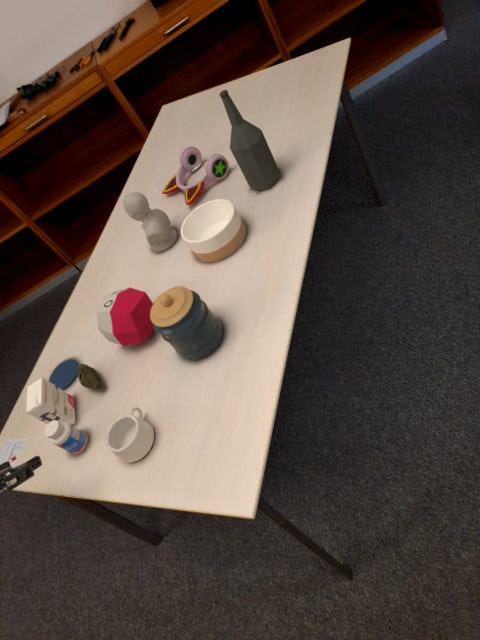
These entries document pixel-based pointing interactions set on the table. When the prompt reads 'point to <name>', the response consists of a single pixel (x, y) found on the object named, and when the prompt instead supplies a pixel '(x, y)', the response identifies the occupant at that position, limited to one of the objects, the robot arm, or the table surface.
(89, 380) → the decorative stone
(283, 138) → the table surface
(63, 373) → the coaster
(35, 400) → the ink box
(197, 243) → the bowl
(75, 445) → the pill bottle
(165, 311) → the canister
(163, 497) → the table surface
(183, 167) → the headphones
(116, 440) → the mug
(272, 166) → the bottle
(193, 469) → the table surface
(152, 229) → the figurine
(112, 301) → the decorative object
